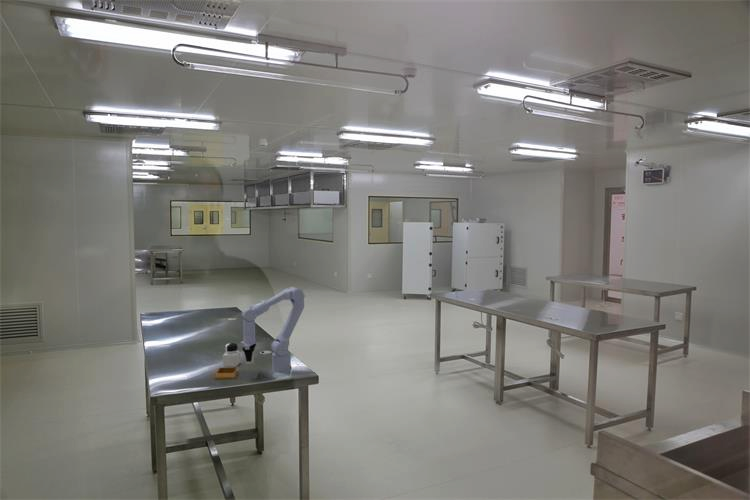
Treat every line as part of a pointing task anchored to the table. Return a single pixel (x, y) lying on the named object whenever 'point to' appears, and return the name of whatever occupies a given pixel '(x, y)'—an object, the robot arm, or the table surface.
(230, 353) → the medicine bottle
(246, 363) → the canister
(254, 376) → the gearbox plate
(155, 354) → the table surface
